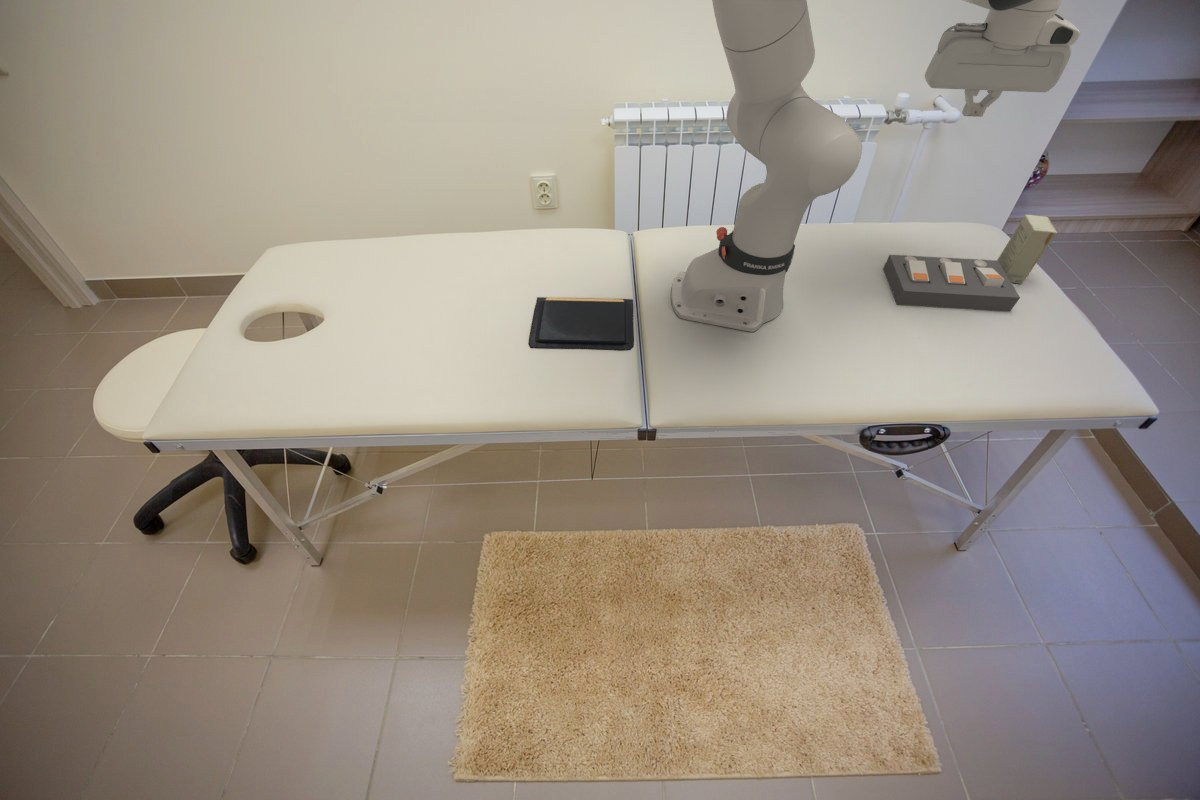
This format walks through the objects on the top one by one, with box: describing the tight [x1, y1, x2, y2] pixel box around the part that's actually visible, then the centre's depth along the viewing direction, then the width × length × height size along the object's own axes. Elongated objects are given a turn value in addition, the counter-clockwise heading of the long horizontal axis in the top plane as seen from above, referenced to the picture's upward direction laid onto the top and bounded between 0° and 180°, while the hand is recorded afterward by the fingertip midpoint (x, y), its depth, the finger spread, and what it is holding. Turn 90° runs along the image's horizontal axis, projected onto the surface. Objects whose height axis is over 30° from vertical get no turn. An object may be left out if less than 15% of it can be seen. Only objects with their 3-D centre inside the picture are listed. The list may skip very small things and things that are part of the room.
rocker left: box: [905, 260, 929, 283], centre depth 115 cm, size 3×5×2 cm, turn 175°
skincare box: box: [997, 214, 1058, 284], centre depth 116 cm, size 6×4×12 cm
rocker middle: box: [940, 262, 965, 285], centre depth 115 cm, size 3×5×2 cm, turn 175°
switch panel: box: [882, 254, 1021, 312], centre depth 116 cm, size 22×12×4 cm, turn 85°
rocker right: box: [975, 267, 1004, 287], centre depth 114 cm, size 3×5×2 cm, turn 175°
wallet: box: [528, 296, 635, 352], centre depth 110 cm, size 20×2×15 cm
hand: (971, 115), depth 100 cm, fingers closed
